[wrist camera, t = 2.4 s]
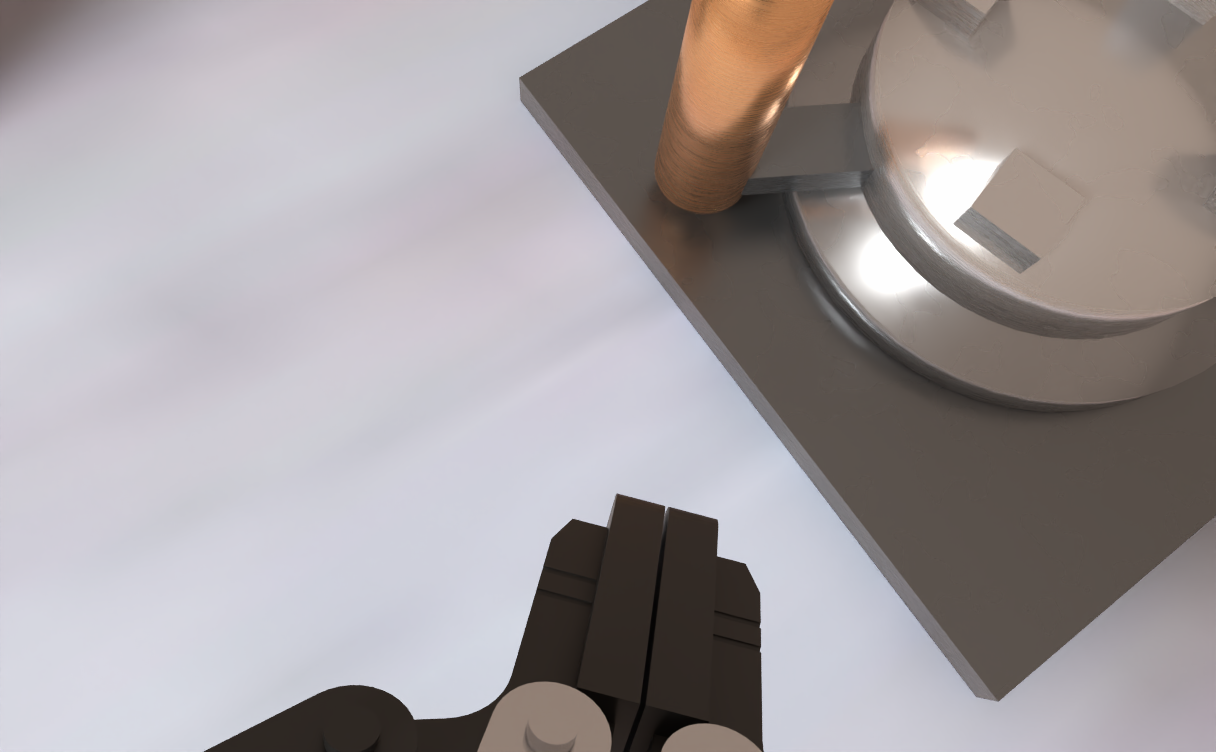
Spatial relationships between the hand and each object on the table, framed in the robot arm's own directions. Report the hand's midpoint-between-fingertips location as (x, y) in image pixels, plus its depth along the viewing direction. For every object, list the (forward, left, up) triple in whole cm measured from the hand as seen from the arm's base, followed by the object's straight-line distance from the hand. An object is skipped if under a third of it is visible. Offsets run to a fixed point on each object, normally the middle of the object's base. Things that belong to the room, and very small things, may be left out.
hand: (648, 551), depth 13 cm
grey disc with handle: (-5, +18, -14) cm, 23 cm away
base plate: (-3, +21, -17) cm, 27 cm away
